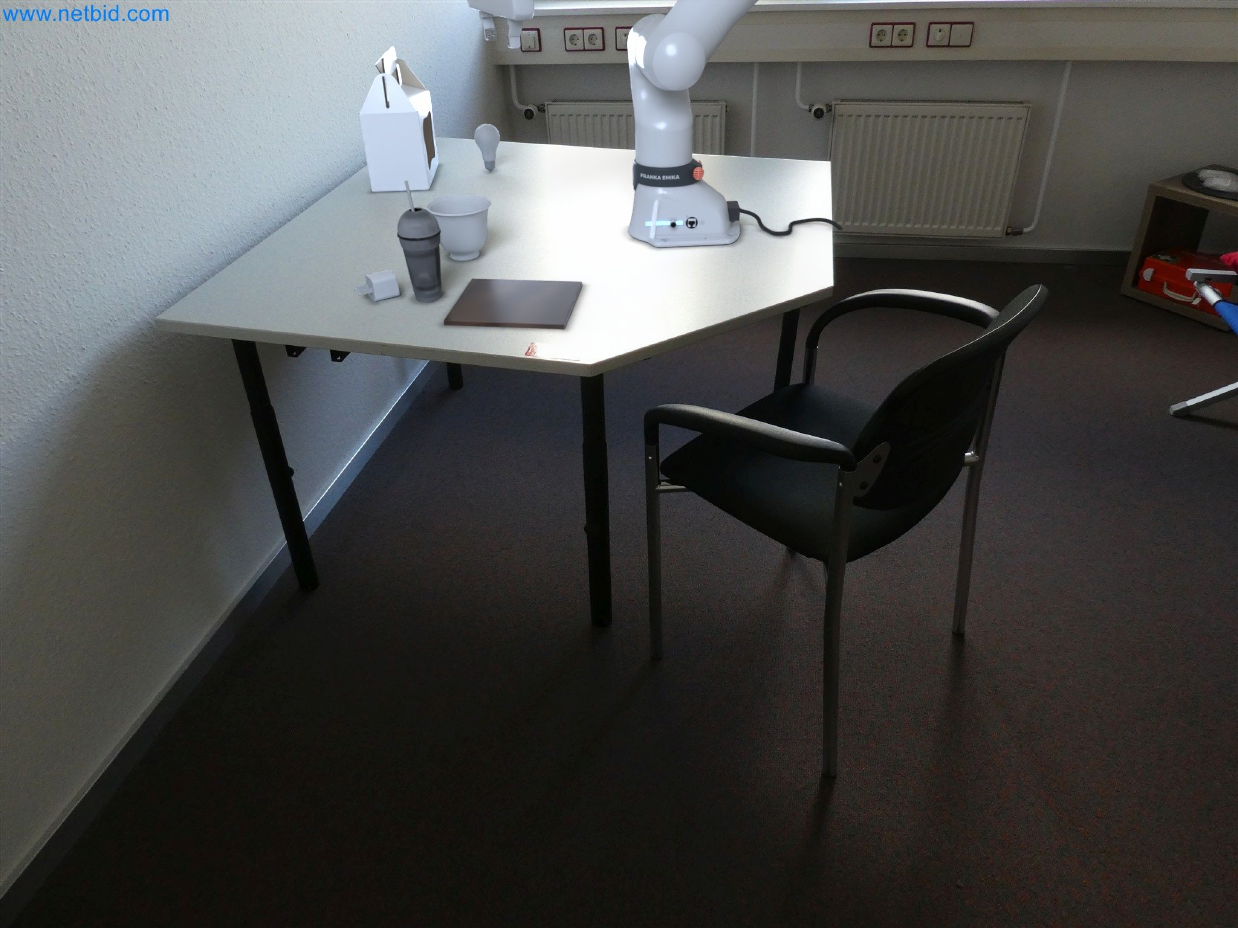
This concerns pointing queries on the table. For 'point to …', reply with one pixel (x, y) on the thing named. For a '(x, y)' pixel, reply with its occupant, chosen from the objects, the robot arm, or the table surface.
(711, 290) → the table surface
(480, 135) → the lightbulb
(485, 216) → the teacup
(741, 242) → the table surface
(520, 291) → the mat
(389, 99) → the gable box
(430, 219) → the beverage cup
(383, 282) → the usb wall charger
